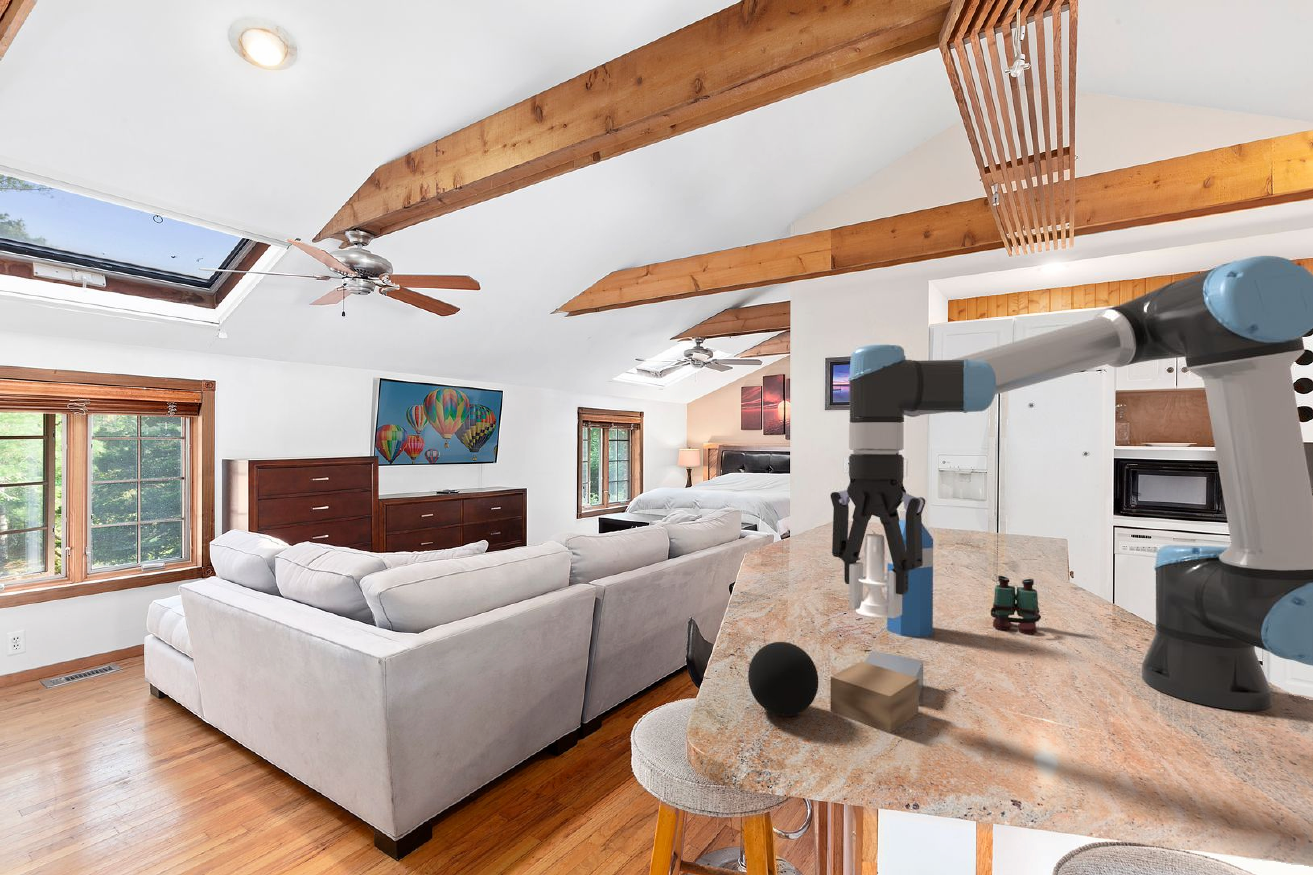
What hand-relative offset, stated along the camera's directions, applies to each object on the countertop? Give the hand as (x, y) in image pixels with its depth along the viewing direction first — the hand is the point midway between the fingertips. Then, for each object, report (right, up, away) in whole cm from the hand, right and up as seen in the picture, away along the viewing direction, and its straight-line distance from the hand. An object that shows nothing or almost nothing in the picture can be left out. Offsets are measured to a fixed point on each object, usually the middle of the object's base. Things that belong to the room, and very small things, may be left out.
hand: (875, 611), depth 87 cm
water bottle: (+21, -15, +38) cm, 46 cm away
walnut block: (0, -15, 0) cm, 15 cm away
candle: (0, 0, 0) cm, 0 cm away
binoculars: (+44, -15, +38) cm, 60 cm away
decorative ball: (-14, -15, 0) cm, 20 cm away
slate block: (+6, -15, +8) cm, 18 cm away
